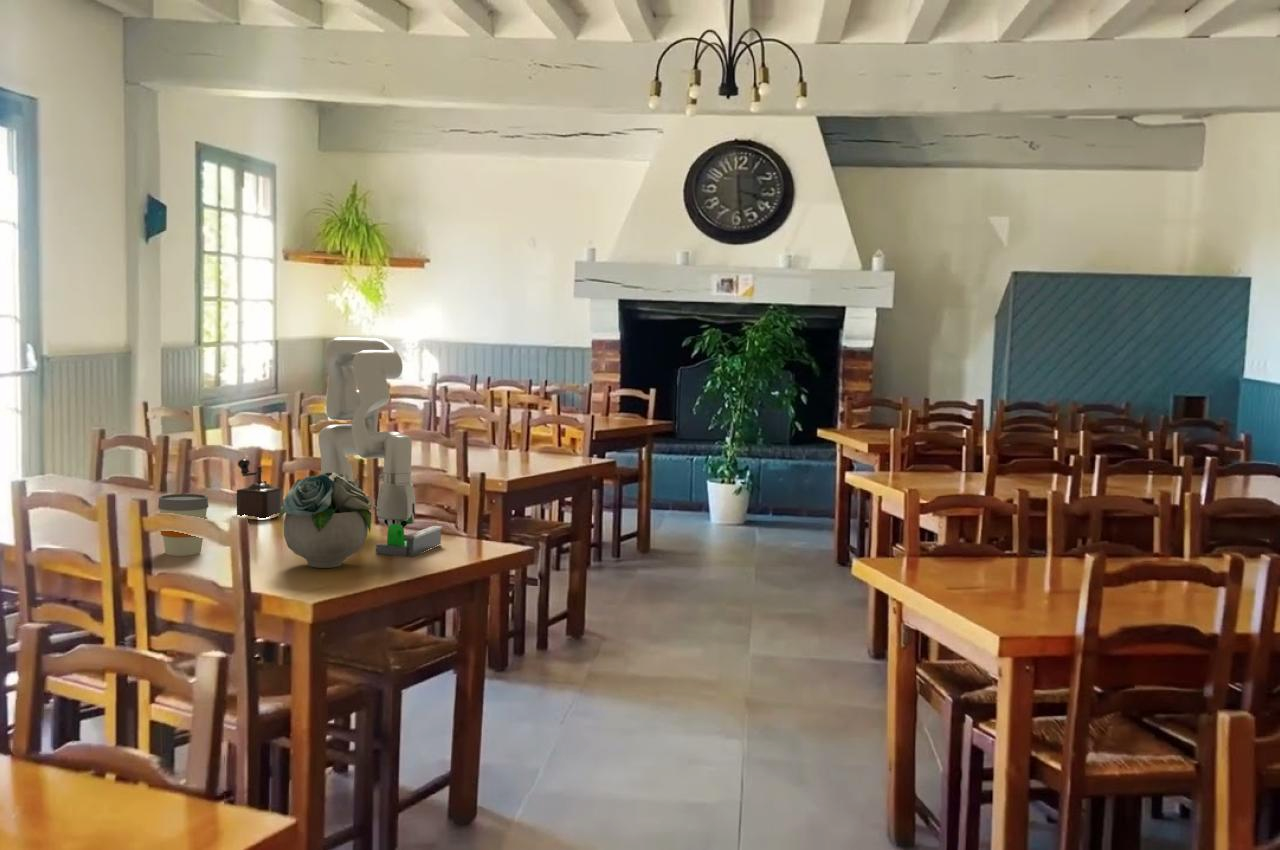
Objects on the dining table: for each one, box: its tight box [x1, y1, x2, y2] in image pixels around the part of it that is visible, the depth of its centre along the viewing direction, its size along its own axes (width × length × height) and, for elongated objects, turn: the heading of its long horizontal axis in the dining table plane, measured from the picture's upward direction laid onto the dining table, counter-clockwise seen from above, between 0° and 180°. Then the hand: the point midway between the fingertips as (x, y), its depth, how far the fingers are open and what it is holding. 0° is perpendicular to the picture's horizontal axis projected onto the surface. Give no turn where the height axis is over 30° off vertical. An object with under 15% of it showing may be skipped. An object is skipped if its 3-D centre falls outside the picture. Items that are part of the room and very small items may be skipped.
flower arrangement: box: [276, 473, 378, 569], centre depth 300 cm, size 25×25×24 cm
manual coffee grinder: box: [236, 458, 283, 518], centre depth 371 cm, size 16×11×18 cm
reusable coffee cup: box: [157, 493, 209, 557], centre depth 310 cm, size 13×13×15 cm
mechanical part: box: [386, 523, 407, 546], centre depth 325 cm, size 12×6×8 cm, turn 162°
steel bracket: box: [375, 525, 443, 558], centre depth 327 cm, size 11×19×6 cm, turn 166°
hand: (395, 543), depth 328 cm, fingers closed
